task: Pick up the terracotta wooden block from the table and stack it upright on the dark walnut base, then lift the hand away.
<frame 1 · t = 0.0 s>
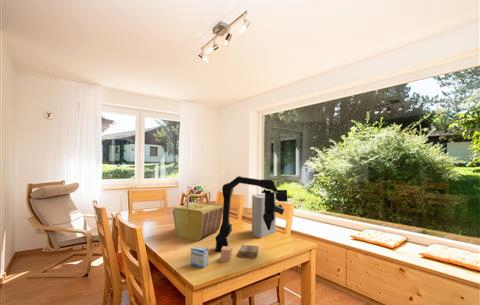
hand: (269, 227, 137), 15 cm above the table, fingers open, 9 cm apart
grey upright carton: (260, 233, 175), on the table
medicine box: (199, 265, 120), on the table
picnic basket: (198, 234, 170), on the table
walnut base: (248, 253, 136), on the table
terracotta block: (226, 259, 128), on the table
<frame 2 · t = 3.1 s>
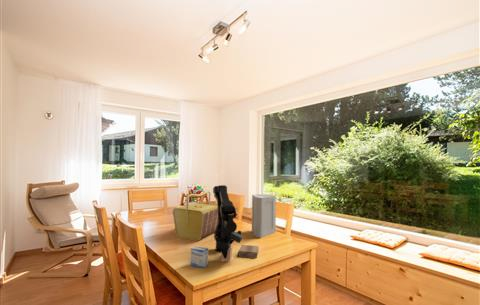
hand: (226, 256, 128), 2 cm above the table, fingers closed on terracotta block, 5 cm apart
terracotta block: (226, 259, 128), on the table, touching gripper
everything else where it was.
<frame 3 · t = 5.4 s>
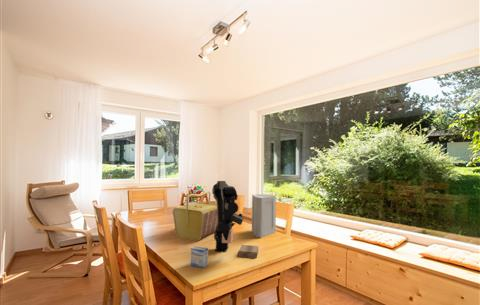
hand: (227, 238, 128), 11 cm above the table, fingers closed on terracotta block, 5 cm apart
terracotta block: (227, 241, 128), point 9 cm above the table, touching gripper
everything else where it was.
when the fingers open (6 cm above the table, at t = 7.8 s): terracotta block drops 1 cm, resting on walnut base.
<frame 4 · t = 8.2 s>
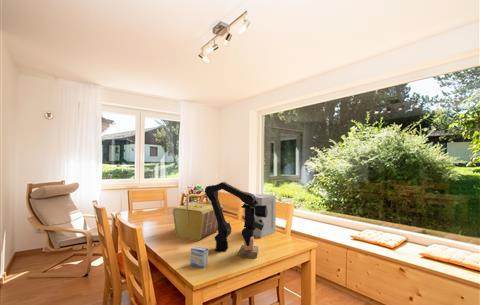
hand: (249, 243, 136), 6 cm above the table, fingers open, 9 cm apart
terracotta block: (249, 248, 136), point 3 cm above the table, touching walnut base
everything else where it was.
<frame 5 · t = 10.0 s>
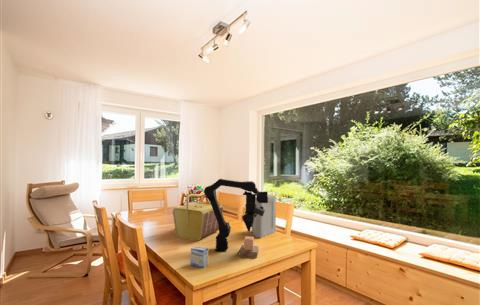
hand: (250, 229, 140), 13 cm above the table, fingers open, 9 cm apart
nothing on the table moved.
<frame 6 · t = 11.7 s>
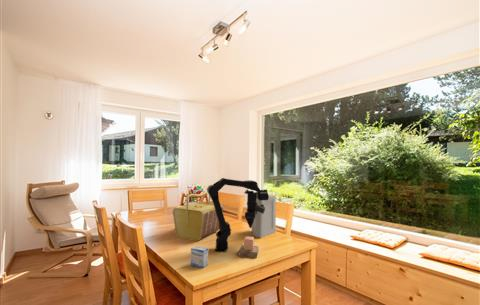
hand: (251, 225, 147), 13 cm above the table, fingers open, 9 cm apart
nothing on the table moved.
at the end: terracotta block 0.0 cm off-centre on the walnut base, point 3.0 cm above the walnut base's base; terracotta block tilted 0°; the gripper is holding nothing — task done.
